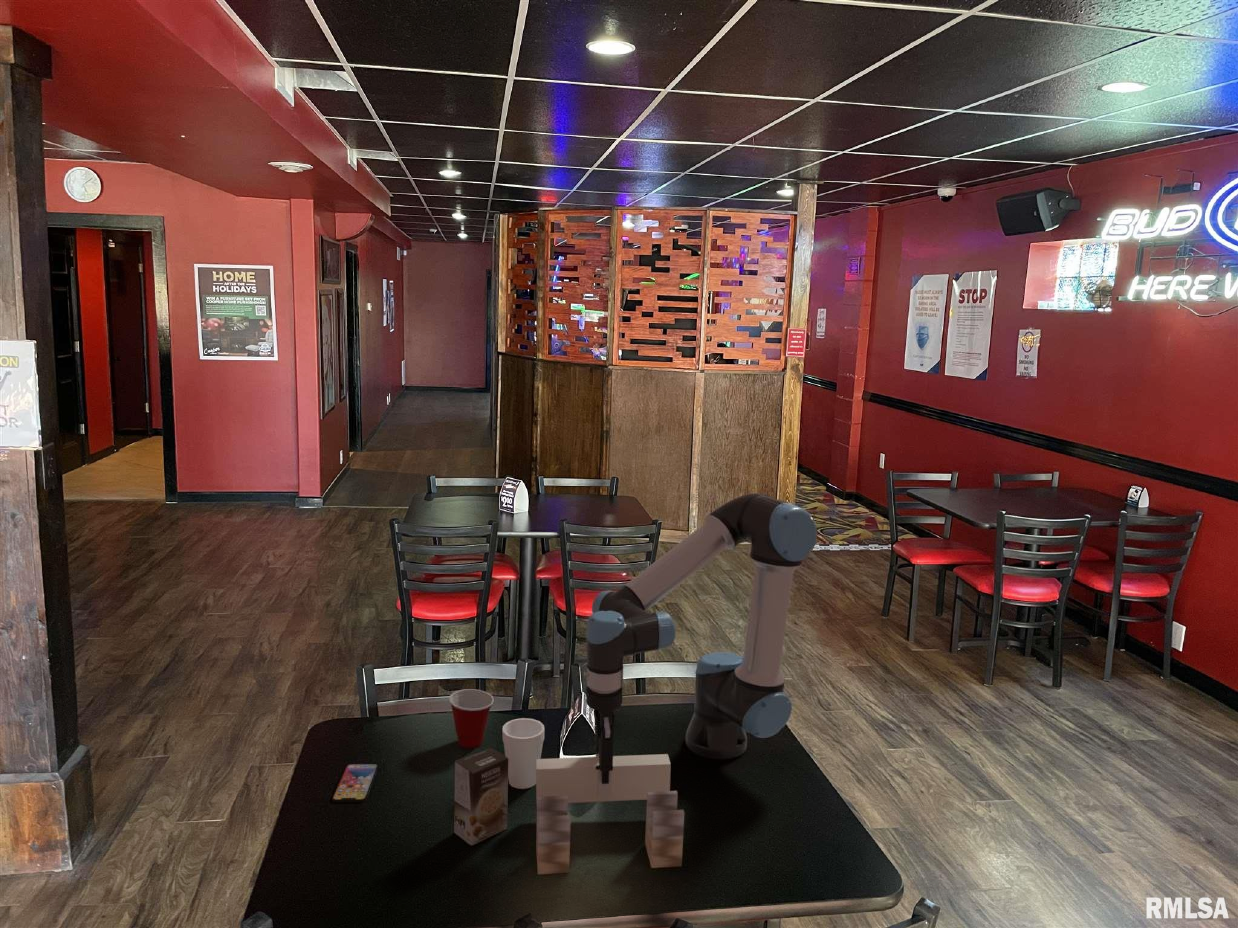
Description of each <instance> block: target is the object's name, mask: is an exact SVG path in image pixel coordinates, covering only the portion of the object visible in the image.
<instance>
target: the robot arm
mask: <svg viewBox="0 0 1238 928" xmlns="http://www.w3.org/2000/svg"><path fill="white" fill-rule="evenodd" d="M817 531H818V529H817V525H816V523H815V520H814V518H813V517H812V516H811V514H810V513H809V512H808V511H807V510H806V509H804V508H802V507H800V506H798V505H797V504H794V503H791V502H788V501H784V500H780V499H778V498H773V497H771V496H768V495H766V494H763V493H756V492H755V493H747V494H743V495H740V496H738V497H735V498H733V499H731V500H730V501H727V502H726V503H724V504H723V505H721V506H719V507H717V508H716V509H715V510H713V511H712V512H711V513H709V514H708V515H707V516H706V517H705V518H704V523H703V524H702V525H701V526H700V527H698V528H697V529H695V530H694V531H693V532H691V534H689V535H688V536H686V537H685V538H684V539H683V540H681V541H680V542H679V543H678V544H676V545H675V546H674V547H672V548H671V549H669V550H668V551H667V552H665V553H664V554H663V555H662V556H660V557H659V558H658V559H657V560H656V561H654V562H653V563H652V564H650V565H649V566H648V567H646V568H645V569H643V570H642V571H641V572H640V573H638V574H637V575H635V577H633V578H632V579H630V580H629V581H628V582H627V583H625V584H623V586H622V587H620V588H619V589H618V590H617V591H614V590H610V589H609V590H602V591H601V592H599V593H598V594H597V595H596V596H595V597H594V599H593V601H592V604H591V611H592V612H591V614H590V615H589V617H588V618H587V624H586V633H585V634H586V635H585V639H586V671H584V672H583V676H584V677H586V690H585V693H586V694H585V696H586V697H585V700H586V701H585V703H586V705H587V706H588V707H589V708H590V709H592V710H593V718H594V742H593V743H594V745H595V748H594V750H595V757H599V765H598V766H596V770H598V796H611V771H613V756H614V737H615V736H614V735H615V729H614V724H615V721H616V720H615V714H614V710H616V709H619V708H620V707H621V706H622V704H623V693H624V692H623V689H624V688H623V686H624V658H625V657H629V656H633V655H637V654H641V653H647V652H651V651H659V650H660V649H662V648H663V649H664V648H667V647H670V646H671V645H672V644H673V643H674V642H675V639H676V631H677V629H676V625H675V622H674V619H673V618H672V616H671V615H670V614H669V613H668V612H666V611H654V612H648V610H650V609H651V608H652V607H654V605H656V604H657V603H658V602H659V601H661V600H662V599H664V598H665V597H666V596H667V595H668V594H670V593H672V591H673V590H675V589H676V588H677V587H679V585H681V584H683V583H684V582H685V581H686V580H688V579H689V578H690V577H691V576H693V575H694V574H695V573H697V571H699V570H700V569H701V568H703V567H704V566H705V565H707V564H708V563H710V561H712V560H713V559H714V558H715V557H717V556H718V555H719V554H721V553H722V552H723V551H724V550H728V551H730V550H733V549H734V548H736V546H738V545H740V544H743V543H748V544H750V545H751V546H750V554H749V559H750V560H751V561H752V562H753V564H754V566H755V567H754V574H753V581H752V589H751V596H750V604H749V611H748V618H747V626H746V633H745V640H744V641H745V643H744V648H743V656H742V655H740V654H737V653H733V652H725V651H724V652H720V651H719V652H711V653H707V654H706V653H705V654H704V655H702V656H700V657H699V659H698V660H697V663H696V670H695V687H694V688H695V692H694V709H693V713H692V714H693V715H692V717H691V718H690V722H689V724H688V727H687V729H686V732H685V745H686V747H687V748H688V749H689V750H690V751H691V752H693V753H694V754H695V755H697V756H700V757H703V758H706V759H711V760H731V759H734V758H738V757H739V756H742V755H744V753H745V752H746V750H747V748H748V735H747V733H749V734H751V735H753V736H754V737H756V738H761V739H765V738H766V739H767V738H770V737H773V736H774V735H776V734H778V733H779V732H780V730H781V729H783V728H784V727H785V725H786V724H787V722H788V721H789V719H790V718H791V715H792V710H793V709H792V708H793V707H792V701H791V699H790V697H789V696H788V695H787V694H786V693H785V692H784V689H785V683H786V678H785V675H784V674H783V673H782V671H781V662H782V656H783V655H782V654H783V649H784V640H785V633H786V626H787V621H788V614H789V607H790V606H789V605H790V600H791V592H792V584H793V577H794V573H795V571H796V570H797V569H799V568H800V567H801V566H802V563H803V560H805V559H807V558H808V556H810V554H811V551H813V550H814V548H815V546H816V543H817V539H818V538H817V536H818V532H817Z"/></svg>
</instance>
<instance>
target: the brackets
mask: <svg viewBox="0 0 1238 928" xmlns="http://www.w3.org/2000/svg"><path fill="white" fill-rule="evenodd" d="M568 804H569V803H568V796H548V797H537V800H536V837H535V839H536V842H535V843H536V844H535V845H536V846H535V847H536V849H535V852H536V865H537V875H549V874H550V875H551V874H568V873H570V859H571V858H570V857H571V856H570V855H571V854H570V851H571V850H570V849H571V815H570V814H568V810H569V808H568V807H569V805H568ZM645 813H646V814H645V815H646V816H645V818H646V819H645V835H644V838H645V839H644V840H645V841H644V845H645V848H646V853H647V856H648V860H649V864H650V868H651V869H658V868H672V867H675V868H677V867H682V866H683V865H682V864H683V848H684V847H683V845H684V844H683V843H684V828H685V810H684V809H678V790H670V791H659V792H647V800H646V811H645Z"/></svg>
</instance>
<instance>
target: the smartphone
mask: <svg viewBox="0 0 1238 928" xmlns="http://www.w3.org/2000/svg"><path fill="white" fill-rule="evenodd" d="M378 770H379V765H378V764H377V763H349V764H347V765H345V768H344V770H343V772H342V774H341V777H340V779H339V781H338V784H337V785H336V788H335V790H334V792H333V794H332V797H331V801H332V802H333V803H335V804H338V803H339V804H340V803H343V804H345V803H346V804H347V803H351V804H353V803H357V804H358V803H364V802H367V799H368V797H369V794H370V791H371V788H372V785H373V784H374V780H375V778H376V775H377V774H378V773H377V772H378Z"/></svg>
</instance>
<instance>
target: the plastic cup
mask: <svg viewBox="0 0 1238 928" xmlns="http://www.w3.org/2000/svg"><path fill="white" fill-rule="evenodd" d="M448 700H449V704H450V706H451V711H452V715H453V716H452V717H453V721H454V727H455V731H456V737H457V742H458V744H459V745H458V746H460V747H461V748H463V749H469V750H470V749H476V748H479V747H481V745H482V744H483V741H484V736H485V731H486V729H487V723H488V719H489V712H490V710H491V707H492V706H493V704H494V701H495V699H494V696H493V695H492V694H490V693H489V692H487V691H484V690H481V689H474V688H469V689H468V688H467V689H465V688H464V689H460V690H456V691H454V692H452V693H451V694H450V695H449V697H448Z"/></svg>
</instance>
